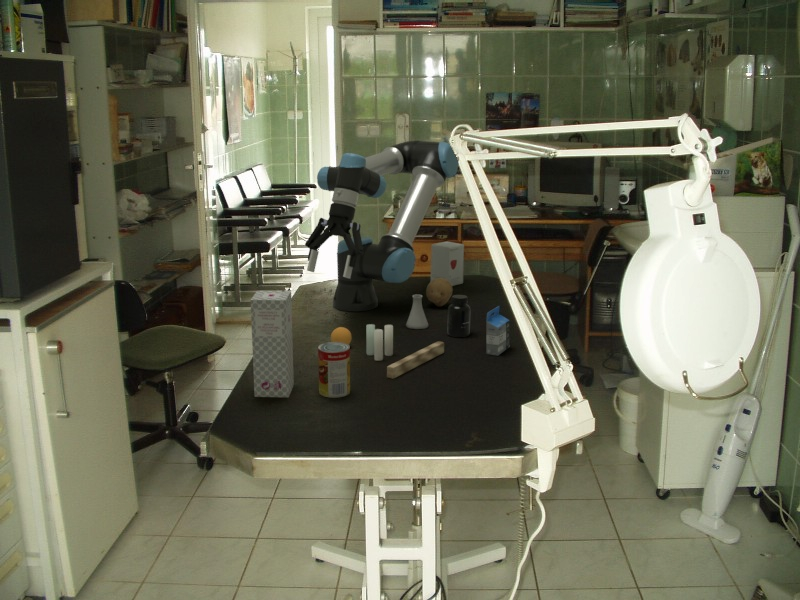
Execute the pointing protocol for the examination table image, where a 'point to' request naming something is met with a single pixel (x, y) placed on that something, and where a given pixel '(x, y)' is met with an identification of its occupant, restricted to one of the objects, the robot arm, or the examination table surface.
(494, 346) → the label tape box
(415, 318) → the flask
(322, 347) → the canned food
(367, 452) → the examination table surface
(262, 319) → the box
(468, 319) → the supplement bottle
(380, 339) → the pin
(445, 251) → the supplement box
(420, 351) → the wooden bar
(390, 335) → the pin
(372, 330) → the front pin
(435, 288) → the natural sponge
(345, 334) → the ball
